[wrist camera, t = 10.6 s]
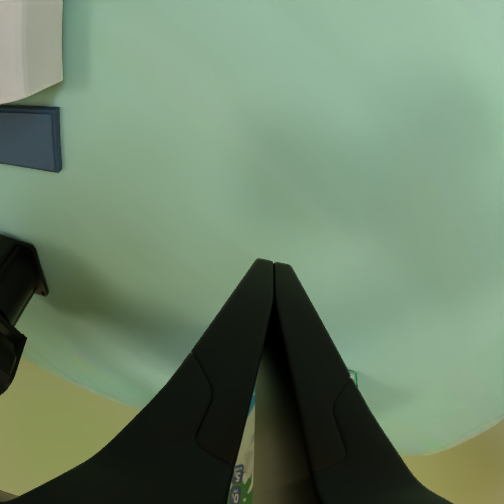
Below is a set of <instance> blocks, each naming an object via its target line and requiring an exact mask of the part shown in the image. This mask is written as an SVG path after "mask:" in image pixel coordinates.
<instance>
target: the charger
mask: <svg viewBox="0 0 504 504" xmlns="http://www.w3.org/2000/svg"><path fill="white" fill-rule="evenodd" d="M62 10H63V0H0V104H4V103H9V102H13V101H17V100H20V99H23V98H26V97H29V96H31V95H33V94H35V93H37V92H39V91H41V90H43V89H45V88H48V87H50V86H52V85H54V84H57V83H59V82H61V81H63V70H62Z"/></svg>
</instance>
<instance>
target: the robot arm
mask: <svg viewBox="0 0 504 504" xmlns="http://www.w3.org/2000/svg"><path fill="white" fill-rule="evenodd" d="M34 293H36V294H39V295H42V296H45V297H46V296H47V295H48V293H49V291H48V288H47V285H46V282H45V279H44V276H43V272H42V269H41V266H40V262H39V259H38V255H37V252H36V249H35V247H34V246H33V245H30V244H27V243H24V242H20V241H17V240H14V239H11V238H7V237H4V236H1V235H0V395H1V394H3V393H4V392H5V391H6V390H7V389H8V387H9V386H10V384H11V383H12V381H13V379H14V377H15V374H16V371H17V367H18V364H19V361H20V358H21V355H22V352H23V349H24V346H25V343H26V340H27V337H26V336H25V335H24V334H21V333H20V332H19V331H18V330H17V329H16V328H15V327H14V326H15V325H16V323H17V321H18V319H19V318H20V316H21V314H22V313H23V311H24V309H25V308H26V306H27V304H28V303H29V301H30V299H31V298H32V296H33V294H34ZM350 376H351V375H350V373H349V371H348V369H347V367H346V365H345V363H344V362H343V360H342V358H341V356H340V354H339V352H338V350H337V348H336V347H335V345H334V343H333V341H332V339H331V337H330V336H329V334H328V332H327V330H326V328H325V326H324V325H323V323H322V321H321V319H320V317H319V315H318V314H317V312H316V310H315V308H314V306H313V304H312V303H311V301H310V299H309V297H308V295H307V294H306V292H305V290H304V288H303V286H302V285H301V283H300V281H299V279H298V277H297V276H296V274H295V272H294V270H293V269H292V267H291V266H290V265H288V264H284V263H279V262H275V263H274V264H273V262H272V261H270V260H265V259H260V258H258V259H256V260H255V262H254V263H253V264H252V266H251V267H250V269H249V270H248V272H247V273H246V274H245V276H244V277H243V279H242V280H241V282H240V283H239V284H238V286H237V287H236V289H235V290H234V291H233V293H232V294H231V296H230V297H229V299H228V300H227V301H226V303H225V304H224V306H223V307H222V308H221V310H220V311H219V313H218V314H217V315H216V317H215V318H214V320H213V321H212V323H211V324H210V325H209V327H208V328H207V330H206V331H205V332H204V334H203V335H202V337H201V338H200V339H199V341H198V342H197V344H196V345H195V346H194V348H193V349H192V351H191V353H189V355H188V356H187V357H186V359H185V360H184V361H183V363H182V364H181V366H180V367H179V368H178V370H177V371H176V372H175V373H174V375H173V376H172V377H171V379H170V380H169V381H168V382H167V384H166V385H165V386H164V387H163V388H162V389H161V390H160V391H159V392H158V394H157V395H156V396H155V397H154V398H153V399H152V400H151V401H150V402H149V403H148V404H147V405H146V406H145V407H144V408H143V409H142V410H141V411H140V413H139V414H138V415H136V417H135V418H134V419H133V420H132V421H131V422H130V423H129V424H128V425H127V426H126V427H125V428H124V429H123V430H122V431H121V432H120V433H119V434H118V435H117V436H116V437H115V438H114V439H112V440H111V442H109V443H108V444H107V445H106V446H105V447H104V448H102V450H100V451H99V452H98V453H96V454H95V455H94V456H93V457H91V458H90V459H88V460H87V461H85V462H84V463H82V464H80V465H78V466H76V467H75V468H73V469H71V470H69V471H67V472H65V473H63V474H62V475H60V476H58V477H56V478H54V479H52V480H50V481H48V482H47V483H45V484H43V485H41V486H39V487H37V488H35V489H33V490H31V491H29V492H27V493H25V494H23V495H21V496H16V495H13V494H10V493H7V492H4V491H1V490H0V504H227V502H228V496H229V491H230V486H231V481H232V477H233V473H234V467H235V465H236V461H237V457H238V453H239V449H240V445H241V441H242V437H243V433H244V429H245V425H246V421H247V417H248V413H249V408H250V404H251V400H252V396H253V391H254V387H255V430H254V471H253V504H453V503H451V502H450V501H448V500H446V499H444V498H442V497H441V496H439V495H437V494H435V493H434V492H432V491H430V490H429V489H427V488H426V487H425V486H423V485H422V484H421V483H420V482H419V481H418V480H417V479H416V478H415V477H414V476H413V474H412V473H411V472H410V470H409V469H408V467H407V466H406V464H405V463H404V461H403V460H402V458H401V457H400V455H399V454H398V452H397V451H396V449H395V448H394V446H393V445H392V443H391V442H390V440H389V439H388V437H387V436H386V434H385V433H384V431H383V430H382V428H381V427H380V425H379V424H378V422H377V420H376V419H375V417H374V416H373V414H372V413H371V411H370V409H369V407H368V406H367V404H366V402H365V400H364V399H363V397H362V395H361V393H360V391H359V390H358V388H357V386H356V384H355V382H354V380H353V378H350ZM255 383H256V384H255Z"/></svg>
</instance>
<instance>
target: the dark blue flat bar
mask: <svg viewBox="0 0 504 504" xmlns="http://www.w3.org/2000/svg"><path fill="white" fill-rule="evenodd" d="M0 163H1V164H7V165H14V166H20V167H26V168H32V169H38V170H44V171H50V172H56V173H58V172H59V171H61V170H62V161H61V146H60V123H59V108H58V107H41V106H0Z"/></svg>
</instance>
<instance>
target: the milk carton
mask: <svg viewBox="0 0 504 504" xmlns="http://www.w3.org/2000/svg"><path fill="white" fill-rule="evenodd" d="M348 371H349V370H348ZM349 373H350V375H351V376H350V378H353V380H354V382H355V384H356V386H357V388H358V385H357V375H356V373H355V372H352V371H349ZM255 384H256V383H255ZM254 430H255V387H254V391H253V396H252V400H251V404H250V408H249V413H248V417H247V421H246V425H245V429H244V433H243V437H242V441H241V445H240V449H239V453H238V457H237V461H236V465H235V467H234V473H233V477H232V481H231V486H230V491H229V496H228V502H227V504H253V471H254Z"/></svg>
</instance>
